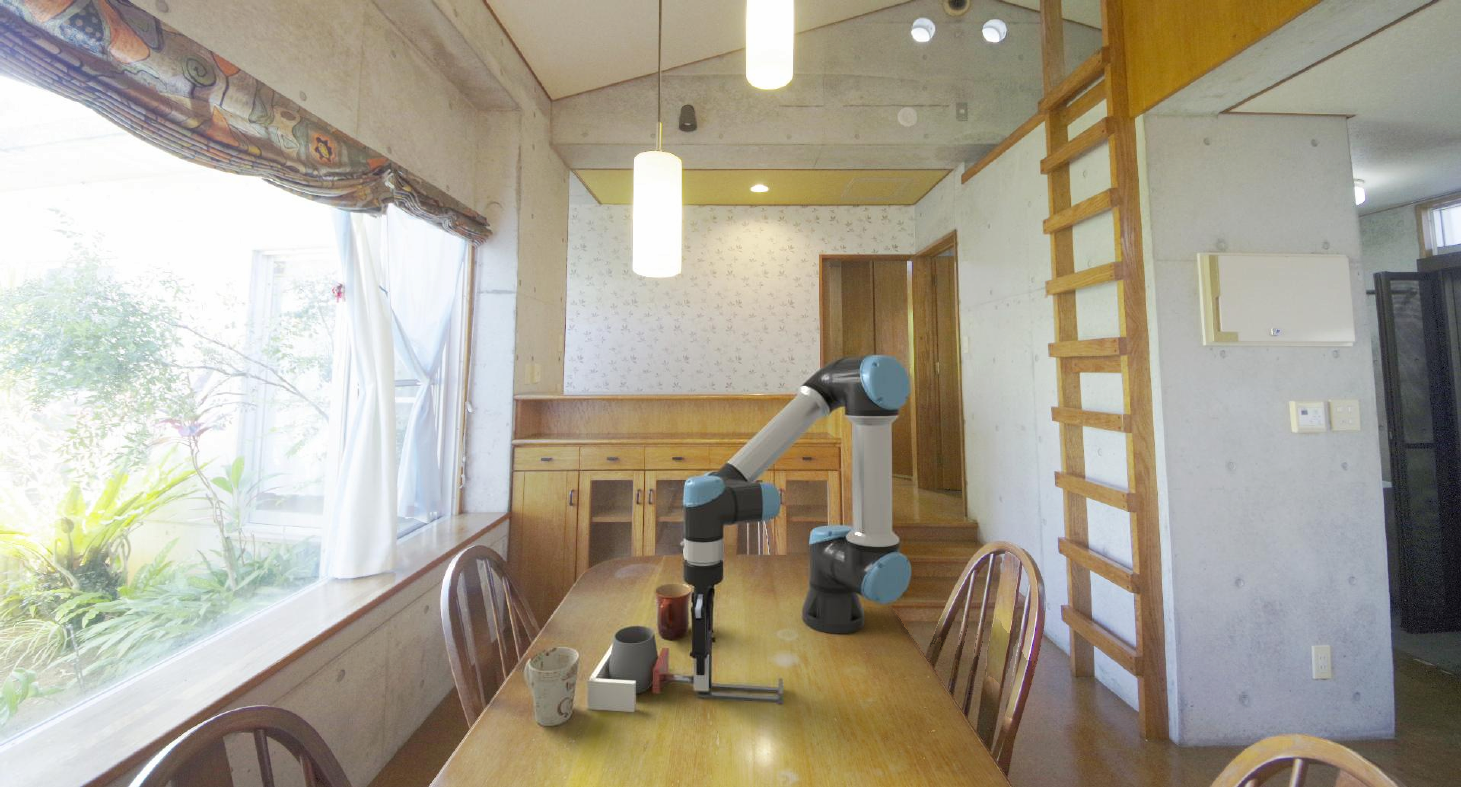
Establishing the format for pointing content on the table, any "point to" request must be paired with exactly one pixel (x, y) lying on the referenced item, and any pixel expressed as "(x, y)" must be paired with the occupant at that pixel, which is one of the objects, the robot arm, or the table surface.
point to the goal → (610, 689)
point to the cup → (634, 656)
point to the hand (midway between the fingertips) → (702, 683)
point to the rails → (745, 697)
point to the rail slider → (662, 676)
